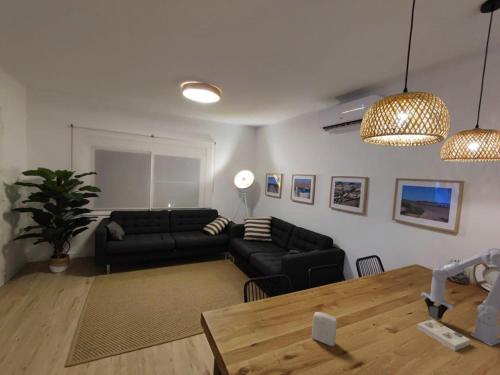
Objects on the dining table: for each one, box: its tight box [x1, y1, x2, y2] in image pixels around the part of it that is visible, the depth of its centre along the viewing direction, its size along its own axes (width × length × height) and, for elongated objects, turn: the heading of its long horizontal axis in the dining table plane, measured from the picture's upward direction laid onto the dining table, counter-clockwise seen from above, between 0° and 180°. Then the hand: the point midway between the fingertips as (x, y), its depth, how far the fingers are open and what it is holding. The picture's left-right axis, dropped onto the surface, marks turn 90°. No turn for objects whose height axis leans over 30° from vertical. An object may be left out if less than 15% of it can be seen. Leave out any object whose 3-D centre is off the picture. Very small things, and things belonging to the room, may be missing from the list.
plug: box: [427, 304, 443, 323], centre depth 126 cm, size 4×4×7 cm
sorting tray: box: [416, 319, 471, 352], centre depth 114 cm, size 12×16×3 cm
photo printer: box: [311, 311, 338, 347], centre depth 105 cm, size 10×4×12 cm, turn 61°
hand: (435, 315), depth 126 cm, fingers closed on plug, 4 cm apart
